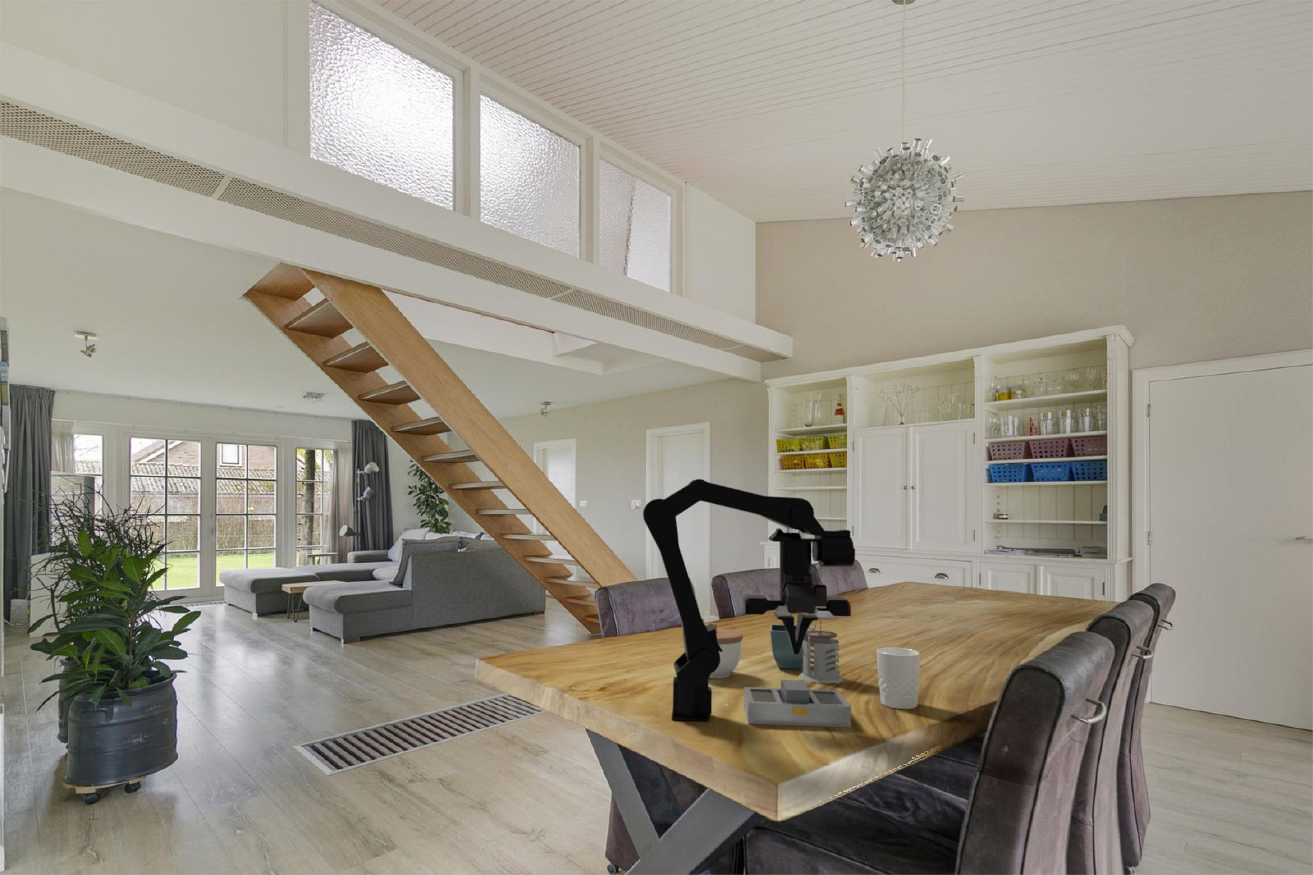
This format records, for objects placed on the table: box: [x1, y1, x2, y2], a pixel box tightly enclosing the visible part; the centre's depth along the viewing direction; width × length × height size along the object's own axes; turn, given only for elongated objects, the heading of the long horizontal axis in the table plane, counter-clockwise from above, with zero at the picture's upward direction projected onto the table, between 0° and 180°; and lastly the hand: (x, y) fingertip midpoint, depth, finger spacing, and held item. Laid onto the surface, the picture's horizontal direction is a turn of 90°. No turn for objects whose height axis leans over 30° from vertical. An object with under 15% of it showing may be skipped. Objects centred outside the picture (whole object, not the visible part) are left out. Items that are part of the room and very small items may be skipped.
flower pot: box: [769, 624, 809, 670], centre depth 163 cm, size 9×9×9 cm
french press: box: [798, 564, 845, 685], centre depth 153 cm, size 10×12×25 cm
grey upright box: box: [780, 679, 810, 703], centre depth 124 cm, size 4×7×4 cm, turn 178°
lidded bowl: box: [709, 623, 743, 679], centre depth 155 cm, size 13×13×11 cm
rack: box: [743, 686, 852, 728], centre depth 124 cm, size 18×11×4 cm, turn 87°
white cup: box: [876, 646, 921, 710], centre depth 134 cm, size 8×8×10 cm
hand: (796, 654), depth 125 cm, fingers closed
